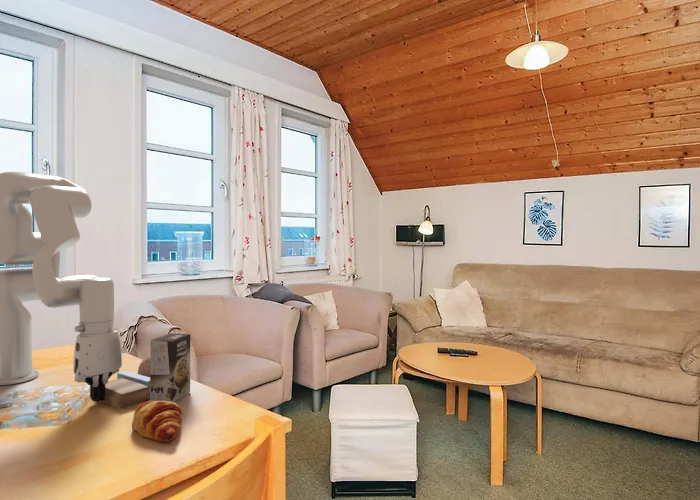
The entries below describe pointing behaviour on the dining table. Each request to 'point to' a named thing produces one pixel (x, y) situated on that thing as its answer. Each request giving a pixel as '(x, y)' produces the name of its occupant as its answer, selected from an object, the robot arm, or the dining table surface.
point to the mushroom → (145, 367)
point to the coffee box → (170, 367)
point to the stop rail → (135, 378)
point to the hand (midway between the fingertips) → (97, 400)
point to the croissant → (157, 420)
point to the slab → (125, 393)
